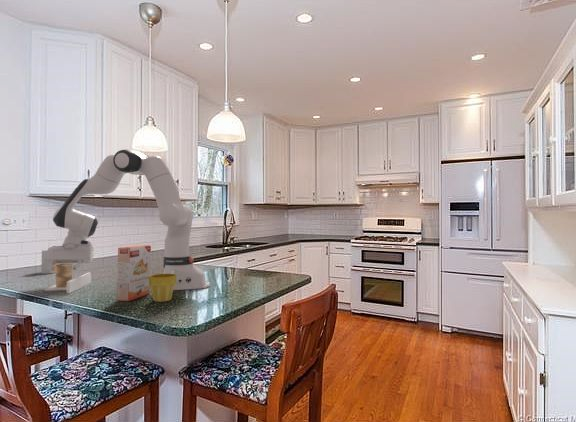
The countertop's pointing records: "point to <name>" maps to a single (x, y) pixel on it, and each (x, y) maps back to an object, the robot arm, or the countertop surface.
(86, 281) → the low wall
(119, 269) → the cracker box
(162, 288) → the plant pot
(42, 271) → the small box
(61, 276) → the maple block
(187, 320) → the countertop surface
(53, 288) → the pad
